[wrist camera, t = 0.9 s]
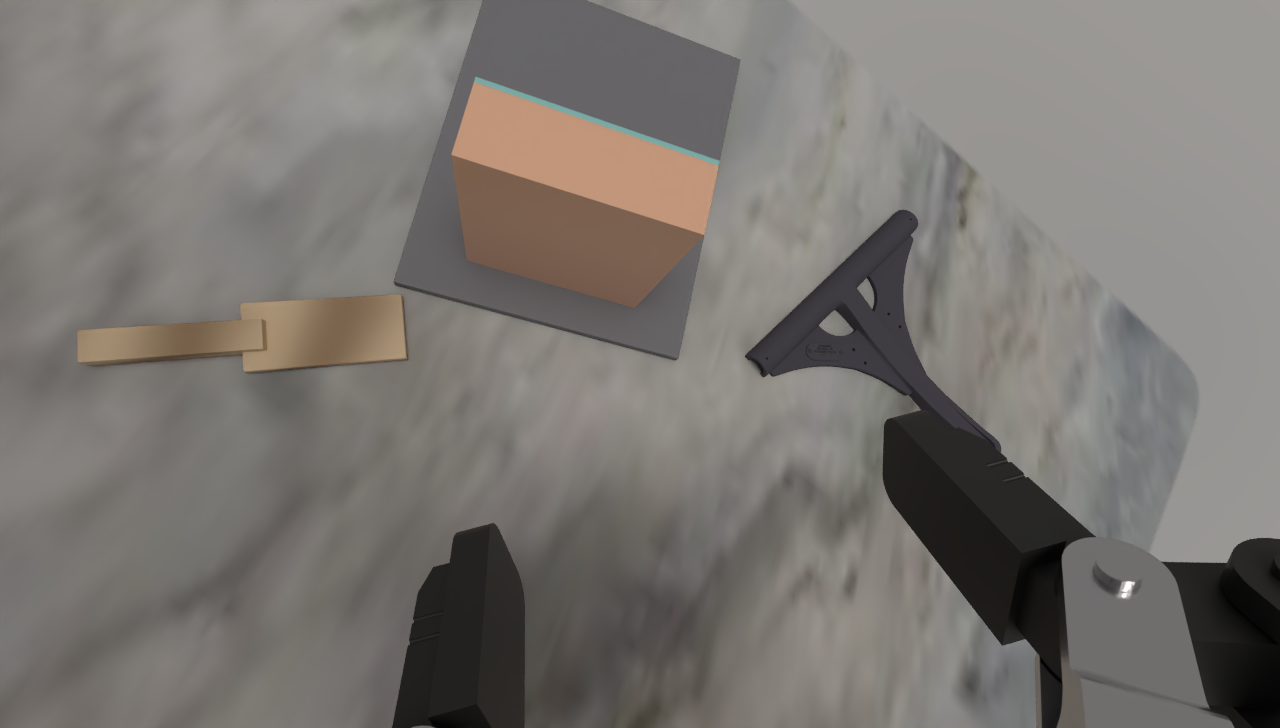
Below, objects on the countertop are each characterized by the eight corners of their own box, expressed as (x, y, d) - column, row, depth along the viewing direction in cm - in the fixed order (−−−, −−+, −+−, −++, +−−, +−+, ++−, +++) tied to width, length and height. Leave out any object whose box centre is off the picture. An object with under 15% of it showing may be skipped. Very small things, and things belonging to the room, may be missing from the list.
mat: (395, 284, 29) (393, 281, 29) (494, -27, 33) (494, -35, 33) (675, 360, 32) (678, 358, 32) (736, 65, 36) (740, 59, 36)
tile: (466, 260, 30) (451, 154, 19) (482, 207, 31) (475, 76, 20) (634, 308, 32) (704, 235, 21) (646, 257, 32) (719, 160, 22)
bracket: (901, 546, 35) (935, 554, 32) (740, 357, 34) (761, 349, 31) (1029, 388, 39) (1068, 384, 36) (888, 216, 38) (918, 198, 35)
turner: (93, 386, 26) (78, 383, 25) (92, 315, 26) (77, 309, 25) (407, 359, 29) (404, 356, 28) (402, 296, 29) (399, 291, 29)
